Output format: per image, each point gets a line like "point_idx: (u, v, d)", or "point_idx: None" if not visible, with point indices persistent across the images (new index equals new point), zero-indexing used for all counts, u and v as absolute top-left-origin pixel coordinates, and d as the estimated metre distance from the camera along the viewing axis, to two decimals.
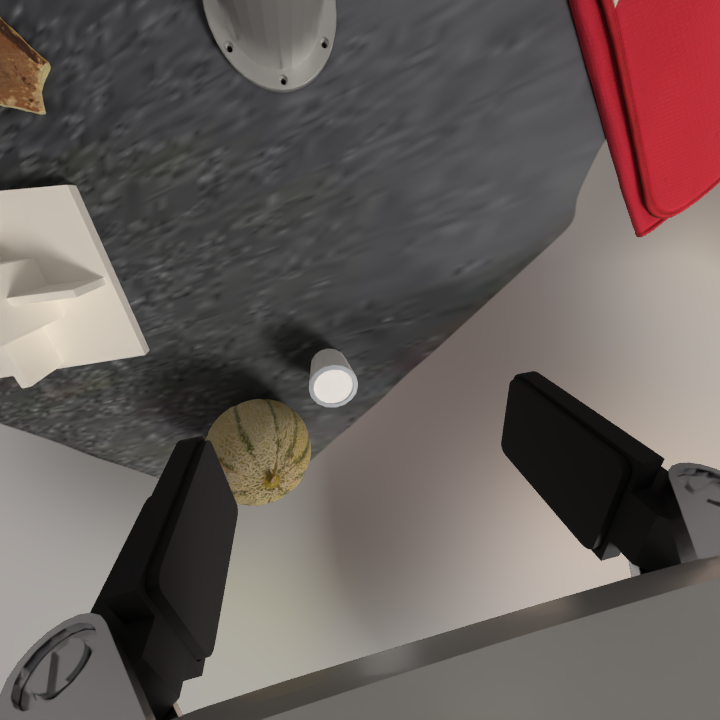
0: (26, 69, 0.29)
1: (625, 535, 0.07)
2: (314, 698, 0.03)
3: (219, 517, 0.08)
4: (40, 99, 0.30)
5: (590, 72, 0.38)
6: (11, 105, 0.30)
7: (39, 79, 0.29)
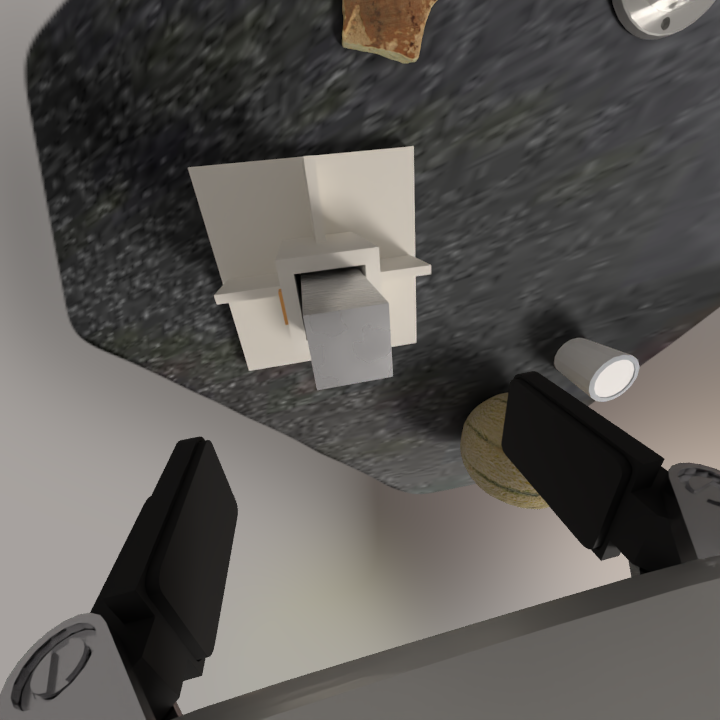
0: (418, 6, 0.25)
1: (625, 535, 0.07)
2: (315, 697, 0.03)
3: (219, 517, 0.08)
4: (419, 43, 0.26)
5: None
6: (389, 50, 0.26)
7: (426, 19, 0.25)
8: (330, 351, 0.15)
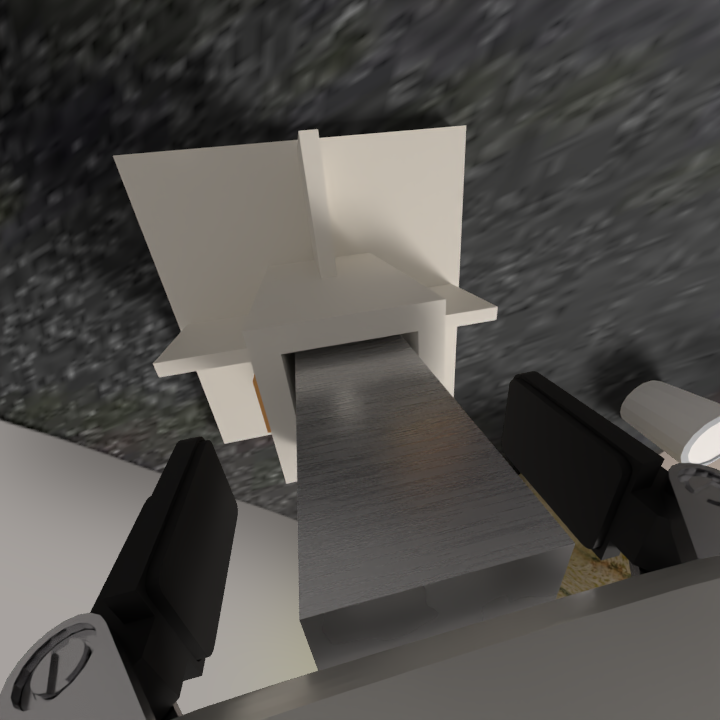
0: None
1: (625, 535, 0.07)
2: (315, 697, 0.03)
3: (219, 517, 0.08)
4: None
5: None
6: None
7: None
8: None
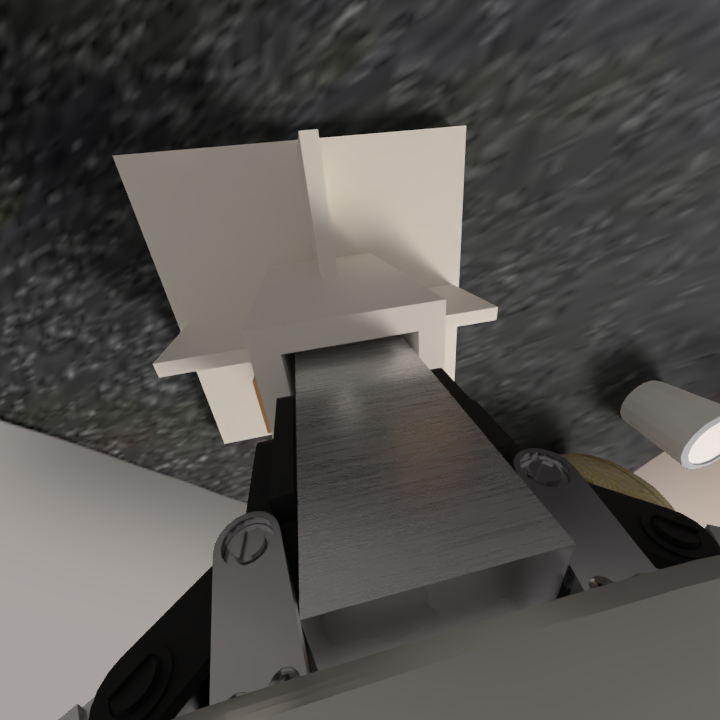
0: None
1: None
2: (314, 697, 0.03)
3: None
4: None
5: None
6: None
7: None
8: None
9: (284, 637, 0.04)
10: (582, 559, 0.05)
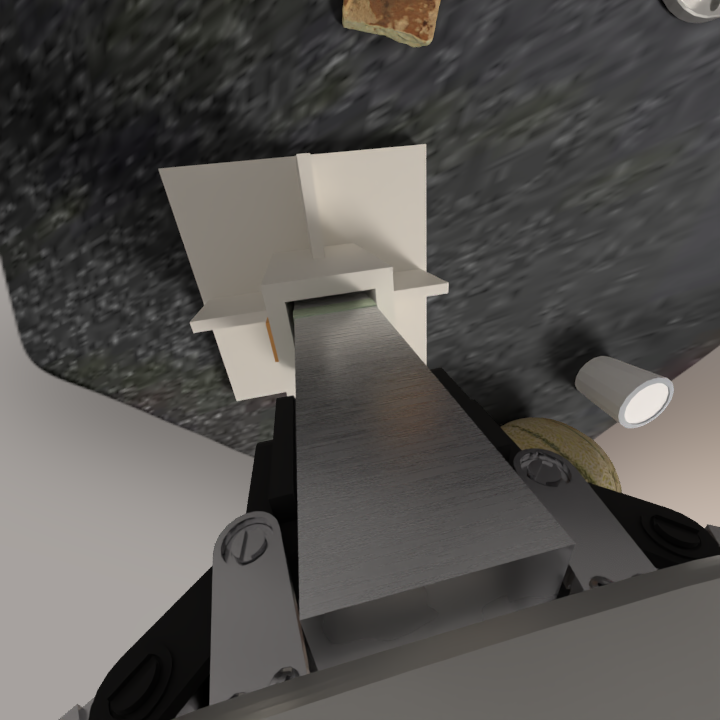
0: None
1: None
2: (315, 697, 0.03)
3: None
4: (434, 22, 0.22)
5: None
6: (399, 30, 0.22)
7: None
8: None
9: (284, 637, 0.04)
10: (582, 559, 0.05)
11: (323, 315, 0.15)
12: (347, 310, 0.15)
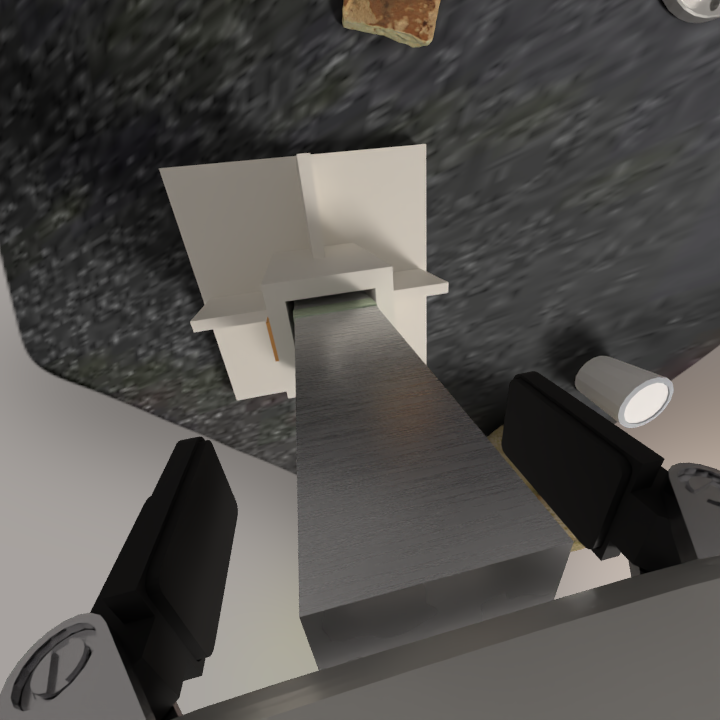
0: None
1: (625, 535, 0.07)
2: (315, 697, 0.03)
3: (219, 517, 0.08)
4: (434, 23, 0.22)
5: None
6: (399, 30, 0.22)
7: None
8: None
9: None
10: None
11: (323, 315, 0.15)
12: (347, 310, 0.15)
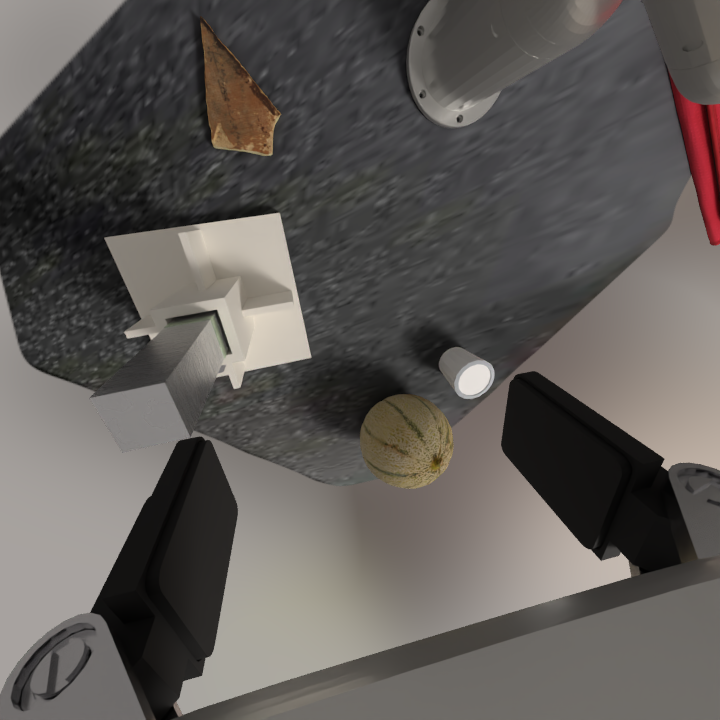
0: (265, 120, 0.35)
1: (625, 535, 0.07)
2: (315, 697, 0.03)
3: (219, 517, 0.08)
4: (271, 144, 0.36)
5: (680, 114, 0.45)
6: (249, 150, 0.36)
7: (273, 128, 0.35)
8: (123, 422, 0.18)
9: None
10: None
11: (179, 325, 0.28)
12: (193, 322, 0.29)
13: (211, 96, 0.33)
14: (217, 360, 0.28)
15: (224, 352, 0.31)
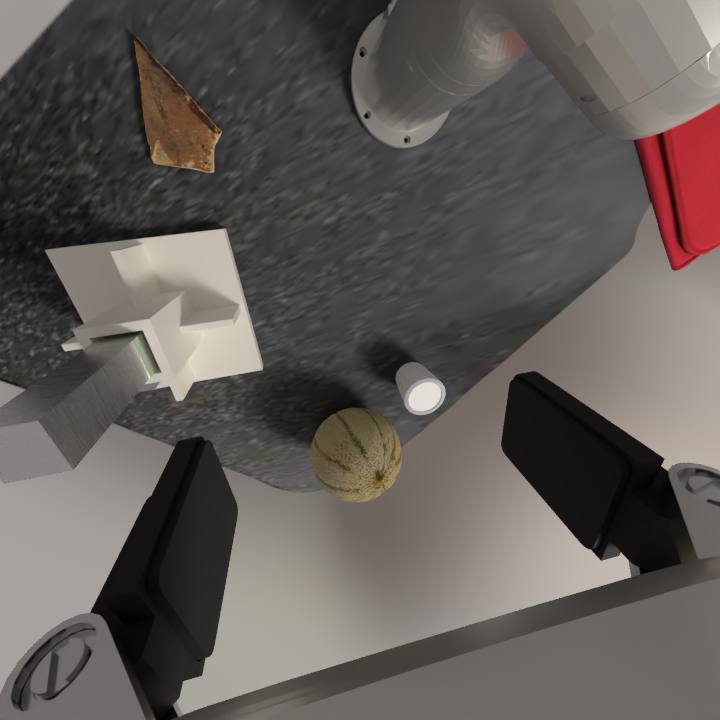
0: (205, 138, 0.35)
1: (625, 535, 0.07)
2: (314, 698, 0.03)
3: (219, 517, 0.08)
4: (212, 161, 0.36)
5: (637, 140, 0.45)
6: (189, 167, 0.36)
7: (214, 145, 0.35)
8: (1, 456, 0.19)
9: None
10: None
11: (99, 347, 0.29)
12: (114, 344, 0.29)
13: (148, 113, 0.33)
14: (136, 382, 0.29)
15: (150, 372, 0.31)
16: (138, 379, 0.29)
